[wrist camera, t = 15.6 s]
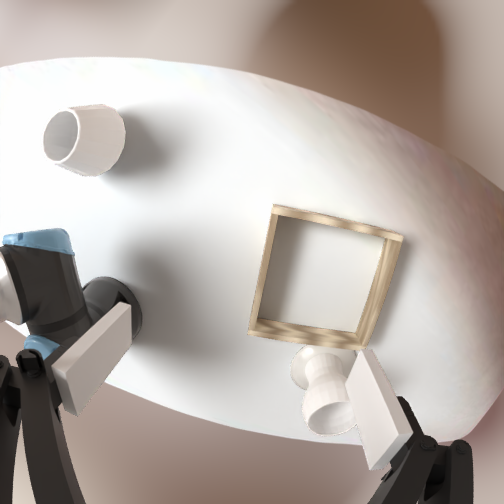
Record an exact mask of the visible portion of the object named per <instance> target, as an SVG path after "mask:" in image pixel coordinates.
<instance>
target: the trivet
mask: <svg viewBox="0 0 504 504" xmlns="http://www.w3.org/2000/svg"><path fill="white" fill-rule="evenodd" d="M319 354H333V355H335V356H337V357H338V358H339V359H340V361H341V363H342V374H343V375H344V377H346V378H348V377H349V374H350V372H351V370H352V368H353V365H354V363H355V361H356V355H355V353H354V351H353V350H348V349H339V348H330V347H322V346H315V345H306V346H304V347H303V348H302V349H300V350H299V351H298V352H297V353H296V355H295V356H294V358H293V360H292V362H291V366H290V372H291V377H292V379H293V381H294V383H295V384H296V385H297V386H299V387H300V388H302V389H304V390H307V388H308V387H309V382H308V379H307V377H306V374H305V366H306V364H307V363H308V362H309V360H310V359H312V358H313V357H315V356H317V355H319Z"/></svg>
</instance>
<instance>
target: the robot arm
mask: <svg viewBox="0 0 504 504" xmlns="http://www.w3.org/2000/svg"><path fill="white" fill-rule="evenodd" d="M2 243H3V245H4V246H2V247H0V323H1V322H3V321H5V320H7V321H10V322H12V323H15V324H17V325H21V324H23V323H25V322H26V324H27V327H28V329H29V332H30V335H29V336H28V337H27V338H26V340H25V342H24V350H22V351H20V352H19V353H18V354H17V356H16V361H17V364H18V367H19V368H18V367H14V366H10V363H9V360H8V358H7V357H5V356H3V355H0V504H12V492H13V476H14V465H15V456H16V448H17V442H18V435H19V430H20V424H21V419H22V428H23V438H24V446H25V453H26V459H27V465H28V471H29V475H30V481H31V485H32V490H33V494H34V497H35V501H36V504H86V503H85V500H84V498H83V495H82V492H81V490H80V487H79V484H78V481H77V478H76V475H75V472H74V469H73V465H72V462H71V458H70V455H69V451H68V448H67V443H66V439H65V435H64V431H63V426H62V421H61V416H60V411H59V408H58V406H59V405H60V404H61V403H63V406H64V409H65V411H68V412H69V413H71V414H73V415H75V416H77V417H78V416H79V415H80V413H81V412H82V411H83V409H84V408H85V407H86V405H87V404H88V402H89V401H90V400H91V398H92V397H93V395H94V394H95V393H96V391H97V390H98V389H99V387H100V386H101V385H102V383H103V382H104V381H105V379H106V378H107V377H108V375H109V374H110V373H111V371H112V370H113V369H114V367H115V366H116V365H117V363H118V362H119V361H120V359H121V358H122V357H123V356H124V354H125V353H126V352H127V350H128V349H129V348H130V346H131V345H132V340H133V339H134V337H135V336H136V335H137V334H138V332H139V330H140V328H141V324H142V314H141V310H140V307H139V304H138V302H137V300H136V298H135V297H134V295H133V294H132V292H131V291H130V290H129V289H128V288H127V287H126V286H125V285H123V284H122V283H121V282H119V281H117V280H115V279H113V278H109V277H97V278H95V279H93V280H91V281H90V282H88V283H87V284H86V285H85V286H84V287H83V288H82V287H81V283H80V279H79V275H78V271H77V267H76V262H75V258H74V256H75V253H74V252H73V250H72V246H71V242H70V238H69V235H68V233H67V232H66V231H65V230H64V229H61V228H55V229H46V230H38V231H30V232H24V233H16V234H9V235H5V236H4V237H3V241H2ZM345 387H346V390H347V393H348V397H349V400H350V403H351V406H352V410H353V413H354V417H355V420H356V423H357V427H358V430H359V434H360V437H361V441H362V445H363V448H364V452H365V456H366V459H367V463H368V467H369V470H378V469H384V468H385V467H386V466H387V464H388V463H389V462H390V464H391V467H392V468H391V469H390V470H389V471H388V472H387V474H385V475H384V477H383V478H382V479H381V480H383V481H382V483H381V484H380V486H379V488H378V489H377V490H376V492H375V494H374V495H373V497H372V498H371V499H370V501H369V502H368V504H416V503H417V501H418V504H473V458H472V449H471V446H470V445H469V444H468V443H467V442H466V441H464V440H455V441H454V442H453V443H452V444H451V446H442V445H438V443H437V442H436V440H435V439H434V438H432V437H431V436H427V435H424V433H423V431H422V429H421V427H420V425H419V423H418V421H417V419H416V417H415V416H414V413H413V411H411V410H412V409H411V407H410V405H409V403H408V402H407V401H406V400H405V399H404V398H403V397H402V396H396V395H395V393H394V391H393V389H392V387H391V385H390V383H389V381H388V379H387V377H386V375H385V373H384V371H383V369H382V367H381V365H380V363H379V361H378V359H377V358H376V356H375V354H374V352H373V350H372V349H360V351H359V354H358V356H357V359H356V361H355V363H354V365H353V368H352V370H351V372H350V374H349V377H348V379H347V381H346V383H345ZM418 499H419V500H418Z"/></svg>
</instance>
